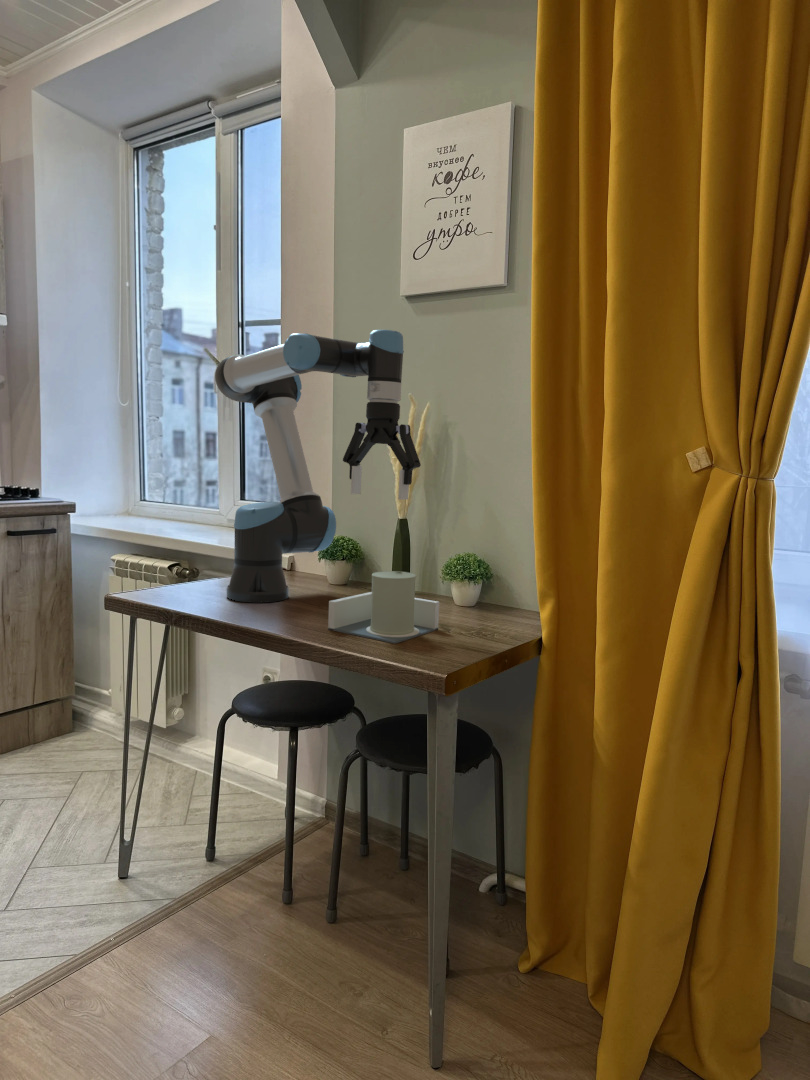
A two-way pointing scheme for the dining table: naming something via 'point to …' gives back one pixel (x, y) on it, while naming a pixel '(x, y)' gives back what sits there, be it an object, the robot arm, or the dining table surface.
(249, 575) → the robot arm
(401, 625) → the can
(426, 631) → the mat
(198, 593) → the dining table surface
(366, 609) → the walls
